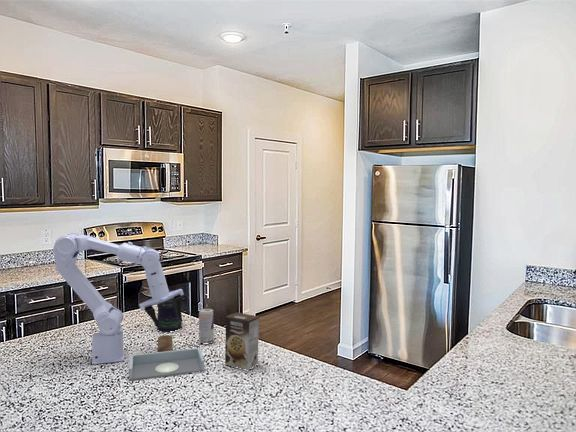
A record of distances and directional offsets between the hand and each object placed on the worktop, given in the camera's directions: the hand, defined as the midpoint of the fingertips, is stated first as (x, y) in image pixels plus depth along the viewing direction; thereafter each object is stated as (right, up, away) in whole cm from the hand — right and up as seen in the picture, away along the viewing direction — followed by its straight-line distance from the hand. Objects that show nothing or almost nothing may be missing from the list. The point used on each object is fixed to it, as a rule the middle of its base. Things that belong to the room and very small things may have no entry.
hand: (168, 322), depth 141 cm
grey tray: (+3, -12, -11) cm, 17 cm away
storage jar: (-7, -10, +27) cm, 30 cm away
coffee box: (+26, -12, -8) cm, 30 cm away
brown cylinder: (-1, -11, 0) cm, 11 cm away
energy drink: (+10, -11, +12) cm, 20 cm away
